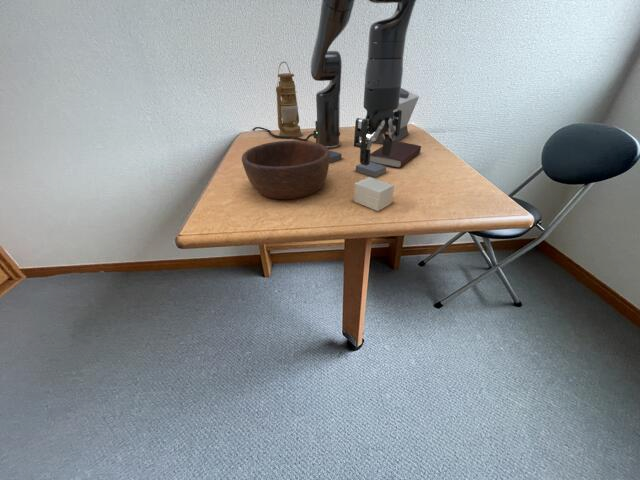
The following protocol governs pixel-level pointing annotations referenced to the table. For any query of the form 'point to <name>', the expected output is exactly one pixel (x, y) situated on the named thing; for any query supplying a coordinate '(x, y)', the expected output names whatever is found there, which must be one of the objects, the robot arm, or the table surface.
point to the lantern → (287, 105)
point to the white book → (374, 188)
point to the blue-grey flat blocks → (362, 166)
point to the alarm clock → (407, 107)
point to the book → (396, 154)
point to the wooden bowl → (287, 168)
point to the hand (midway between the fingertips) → (375, 159)
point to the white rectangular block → (372, 201)
